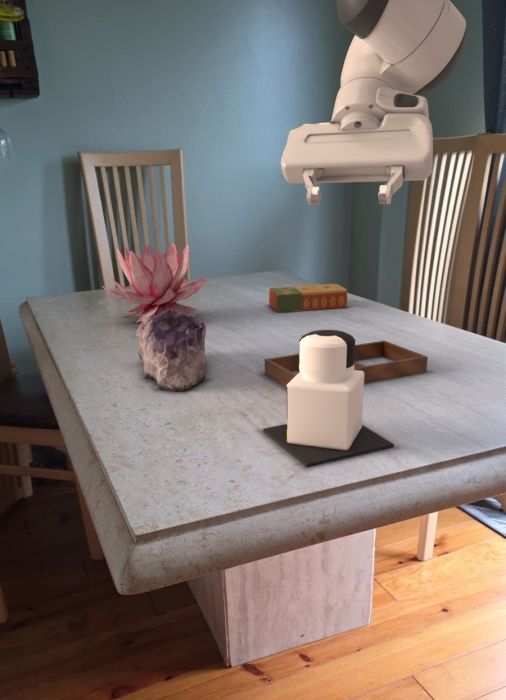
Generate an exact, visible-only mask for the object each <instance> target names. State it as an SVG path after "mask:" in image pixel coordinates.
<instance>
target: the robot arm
mask: <svg viewBox="0 0 506 700" xmlns="http://www.w3.org/2000/svg"><path fill="white" fill-rule="evenodd" d="M335 1H336V3H335V4H336V10H337V15H338V16H337V17H338V20H339V23H340V24H341V25H342V26H343V27H345V28H346V29H347V30H348V31H350V32H351V33H352V34H354V36H353V38H352V41H351V43H350V45H349V47H348V49H347V53H346V56H345V59H344V62H343V65H342V70H341V75H340V88H339V89H338V92H337V94H336V98H335V102H334V106H333V111H332V116H331V120H330V121H321V122H317V123H316V122H315V123H309V122H306V123H301V124H300V125H299V126H297V127H295V128H294V129H291V130H290V131H289V133H288V137H287V140H286V145H285V147H284V150H283V153H282V155H281V159H280V167H281V171H282V175H283V177H284V179H285V181H286V182H287V183H288V184H290V185H292V184H293V185H297V184H298V185H301V184H302V185H303V184H304V186H305V189H306V201H307V205H308V206H320V204H321V202H320V201H321V200H322V199H321V198H322V193H321V188H320V186H317V184H336V183H338V184H339V183H371V182H372V183H376V182H378V183H379V182H387V183H386V184H380V185H379V188H378V190H379V191H378V194H377V195H378V198H377V199H378V205H391V202H392V197H393V195H394V194H395V193H396V192H397V191H398V190H399V189H400V188H401V187H403V183H404V182H407V181H408V182H410V181H414V182H415V181H425V180H427V179H428V178H429V177H430V176H431V175H432V173H433V164H434V136H433V135H434V134H433V126H432V122H431V120H430V115H429V114H430V113H429V112H430V111H429V104H428V99H427V97H425V96H422V95H423V94H425V93H428V92H430V91H432V90H433V89H435V88H437V87H438V86H439V85H440V84H442V83H443V82H444V81H445V80H446V79H447V78H448V77H450V75H451V74H452V73H453V72H454V70H455V68H456V67H457V65H458V64H459V61H460V59H461V56H462V53H463V51H464V47H465V44H466V40H467V32H468V22H467V19H466V18H465V17H464V16H463V15H462V13H461V12H460V11H459V10H458V8H457V7H456V6H455V5H454V3H452V1H451V0H335Z"/></svg>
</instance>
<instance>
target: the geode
mask: <svg viewBox="0 0 506 700" xmlns="http://www.w3.org/2000/svg"><path fill="white" fill-rule="evenodd" d="M206 330H207V325H206V324H205V322H204V321H199V320H196V319H193V318H190V317H188V316H187V315H186V314H185V313H184V312H182V313H179V314H178V313H177V312H175V311H171V310H168V311H165V312H163V313H161V314H159V315H157V316H155V317H150V316H149V317H145V318H144V319H143V320H142V321H141V322H140V324H139V326H138V328H137V330H136V332H135V334H136V338H137V343H138V346H137V347H138V350H137V354H138V356H139V360H141V361H142V363H143V376H144V378H148V379H154V380H155V381H156V384H157V387H158V389H159V390H161V391H166V392H174V393H175V392H176V393H177V392H187V391H189V390H191V389H193V388H195V387H197V386H199V385H200V384H201V383H203V382H204V381H205V380H206V371H207V370H206V365H205V363H206V361H207V357H206V354H205V353H206V347H205V344H206V334H207V331H206Z"/></svg>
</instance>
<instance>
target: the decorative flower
mask: <svg viewBox="0 0 506 700" xmlns="http://www.w3.org/2000/svg"><path fill="white" fill-rule="evenodd" d="M116 251H117V257H118V262H119V264H120V268H121V269H122V272H123V273H124V275H125V277H126V279H127V280H128V282H129V284H130V286H131V287H132V289H133V290H134V291H133V290H132V289H129V288H126V287H125V286H123V285H122V284H120V283H118V282H117V281H116V280H115V279H113V278H111V281H112V282H113V284H114V285H115V287H116V288H117V289H119V290H120V291H122V292H123V293H121V292H119V291H115V290H113V289H111V288H108V287H106V286H103V285H101V287H102V288H103V289H104V290H105V291H106V292H107V293H109V294H111V295H113V296H115V297H117V298H118V299H122V300H125V301H128V302H129V303H132V304H135V305H137V306H136V307H134V308H132V309H130V310H125V312H127V313H130V314H129V315H125V316H122V317H119V319H127V318H130V317H134V316H136V315H138V314H140V313H141V314H140V316H139V317H138V319H137V320H136V322H135V324H137V323H141V322H142V320H143V319H144V318H145V317H149V316H150V317H155V316H157V315H159V314H161V313H163V312H165V311H168V310H171V311H175V312H177V313H178V314H179V313H182V312H184V313H185V314H186V315H187V316H188V317H189V318H190V317H191V318H192V317H196V315H195V314H194V313H193V312H196V311H199V308H195V307H191V306H189V305H185V304H180V303H178V302H180V301H183V300H186V299H188V298H190V297H191V296H193V295H194V294H196V293H197V292H199V290H200V289H201V288H202V286H203V285H204V284H205V283H206V282H207V280H208V278H209V275H207V276H205V277H203V278H200V279H198V280H195V281H193V282H190V283H188V284H185V278H186V274H187V271H188V266H189V265H188V264H189V256H190V253H189V251H190V250H189V244H186V245H185V248H184V247H182V248H181V251H180V256H179V254H178V251H177V248H176V243H175V242H171V244H170V245H169V247H168V248H167V249H166V251H165V252H164V254H163V253H162V251H161V250H160V249H158V250H157V251H156V254H155V253H154V251H153V248H152V247H151V244H150V243H148V242H147V243H146V245H145V247H144V249H143V251H142V255H141V258H140V257H139V256H138V255H137V254H135V252H134V251H133V250H130V251H128V248H127V246H126V245H125V246H124V256H125V257H124V256H123V255H122V253H121V251H120V250H119V249H118V248H116Z"/></svg>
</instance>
